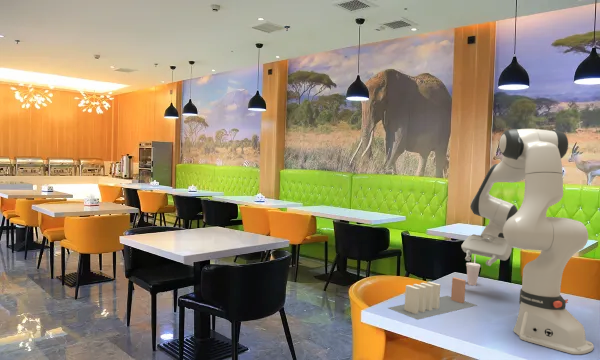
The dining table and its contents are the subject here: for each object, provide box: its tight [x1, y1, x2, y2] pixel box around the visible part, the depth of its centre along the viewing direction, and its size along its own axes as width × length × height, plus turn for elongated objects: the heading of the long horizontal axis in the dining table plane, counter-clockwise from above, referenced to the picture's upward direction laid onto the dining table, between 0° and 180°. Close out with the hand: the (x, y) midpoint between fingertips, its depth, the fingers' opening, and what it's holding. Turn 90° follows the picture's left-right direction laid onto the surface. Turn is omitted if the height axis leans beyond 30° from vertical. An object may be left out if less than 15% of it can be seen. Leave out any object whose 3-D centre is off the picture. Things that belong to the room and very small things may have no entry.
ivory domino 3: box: [419, 282, 434, 311], centre depth 167 cm, size 2×5×9 cm, turn 36°
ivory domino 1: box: [404, 284, 420, 314], centre depth 162 cm, size 2×5×9 cm, turn 36°
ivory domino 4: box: [426, 281, 442, 309], centre depth 169 cm, size 2×5×9 cm, turn 36°
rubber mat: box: [388, 295, 478, 321], centre depth 170 cm, size 14×36×1 cm, turn 126°
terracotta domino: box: [450, 277, 467, 303], centre depth 179 cm, size 2×5×9 cm, turn 36°
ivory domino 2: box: [412, 283, 427, 312], centre depth 165 cm, size 2×5×9 cm, turn 36°
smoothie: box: [465, 254, 481, 286], centre depth 210 cm, size 6×6×14 cm
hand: (477, 262), depth 185 cm, fingers open, 8 cm apart
